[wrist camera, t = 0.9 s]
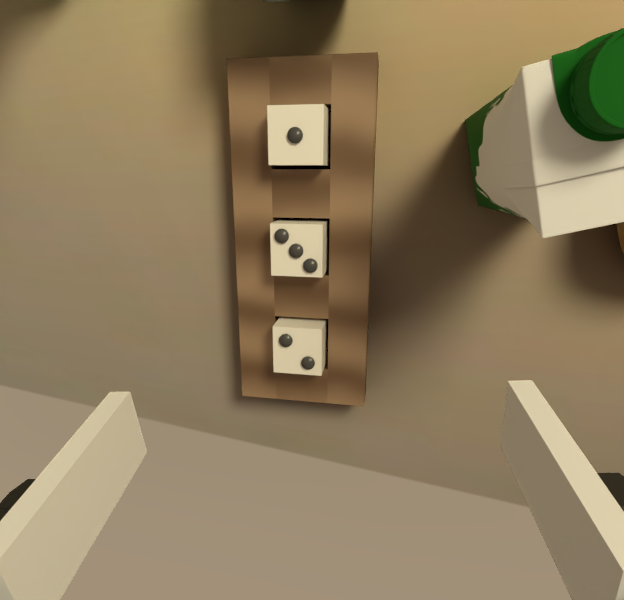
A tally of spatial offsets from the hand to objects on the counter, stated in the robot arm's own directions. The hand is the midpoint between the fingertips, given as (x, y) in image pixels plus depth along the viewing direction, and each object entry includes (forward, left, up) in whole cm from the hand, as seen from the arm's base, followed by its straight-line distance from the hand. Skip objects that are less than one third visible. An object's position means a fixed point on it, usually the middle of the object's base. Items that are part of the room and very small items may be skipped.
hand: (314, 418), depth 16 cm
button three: (+4, +3, -26) cm, 26 cm away
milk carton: (+2, -16, -27) cm, 31 cm away
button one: (+12, -1, -26) cm, 28 cm away
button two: (-3, +8, -26) cm, 27 cm away
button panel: (+4, +3, -27) cm, 28 cm away
